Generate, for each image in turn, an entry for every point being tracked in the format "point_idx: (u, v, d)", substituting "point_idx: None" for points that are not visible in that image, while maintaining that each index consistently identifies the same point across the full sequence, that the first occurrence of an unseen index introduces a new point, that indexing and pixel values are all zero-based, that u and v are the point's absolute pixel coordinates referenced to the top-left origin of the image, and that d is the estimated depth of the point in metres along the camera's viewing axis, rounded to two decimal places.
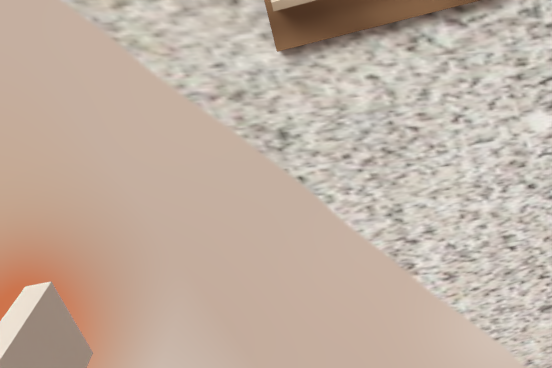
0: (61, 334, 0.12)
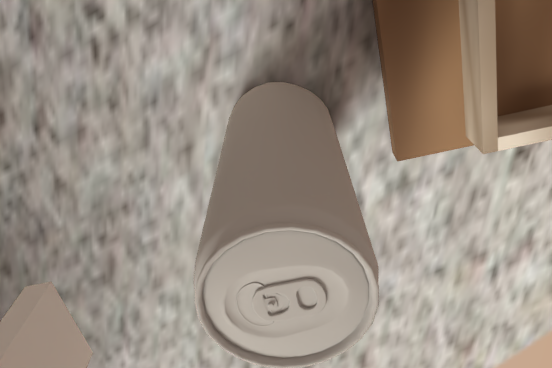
0: (61, 334, 0.12)
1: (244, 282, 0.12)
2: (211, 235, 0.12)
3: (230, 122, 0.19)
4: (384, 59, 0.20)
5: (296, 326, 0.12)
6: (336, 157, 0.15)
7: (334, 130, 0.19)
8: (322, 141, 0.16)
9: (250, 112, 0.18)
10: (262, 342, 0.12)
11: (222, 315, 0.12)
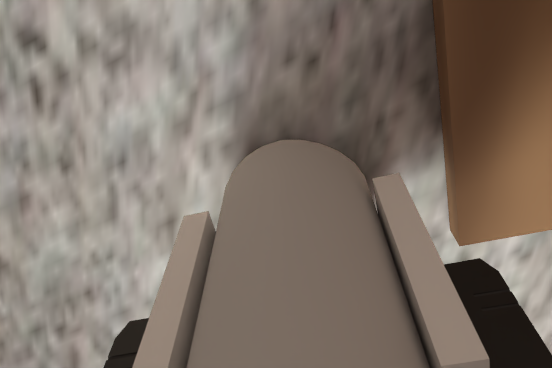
0: None
1: None
2: None
3: (226, 204, 0.13)
4: (450, 111, 0.14)
5: None
6: (397, 303, 0.09)
7: (379, 221, 0.13)
8: (372, 271, 0.09)
9: (255, 199, 0.12)
10: None
11: None
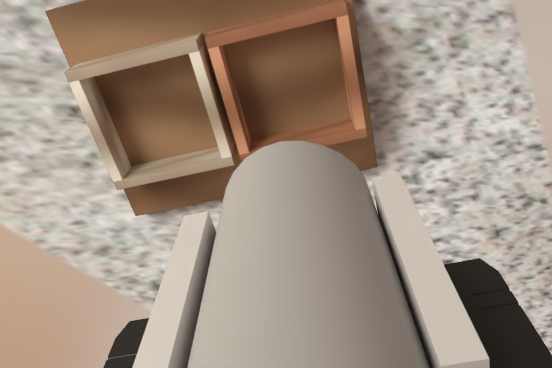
0: None
1: None
2: None
3: (226, 205, 0.13)
4: None
5: None
6: (398, 305, 0.09)
7: None
8: (373, 273, 0.09)
9: (255, 201, 0.12)
10: None
11: None
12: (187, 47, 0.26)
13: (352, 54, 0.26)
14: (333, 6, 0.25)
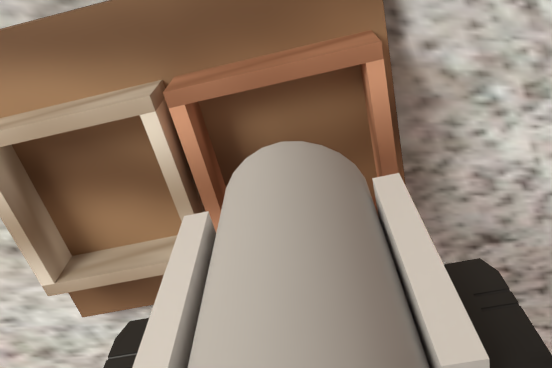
0: None
1: None
2: None
3: (226, 205, 0.13)
4: (45, 18, 0.18)
5: None
6: (398, 305, 0.09)
7: (380, 223, 0.13)
8: (373, 274, 0.09)
9: (255, 201, 0.12)
10: None
11: None
12: (137, 106, 0.17)
13: (388, 116, 0.17)
14: (361, 46, 0.16)
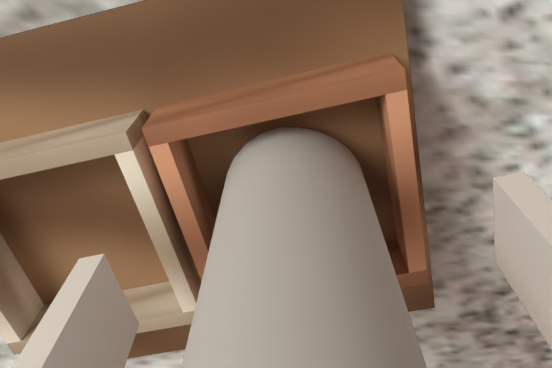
0: (113, 304, 0.13)
1: None
2: None
3: (227, 186, 0.14)
4: (3, 39, 0.15)
5: None
6: (384, 269, 0.10)
7: (371, 201, 0.13)
8: (362, 241, 0.10)
9: (254, 179, 0.13)
10: None
11: None
12: (111, 144, 0.14)
13: (411, 156, 0.14)
14: (380, 74, 0.13)
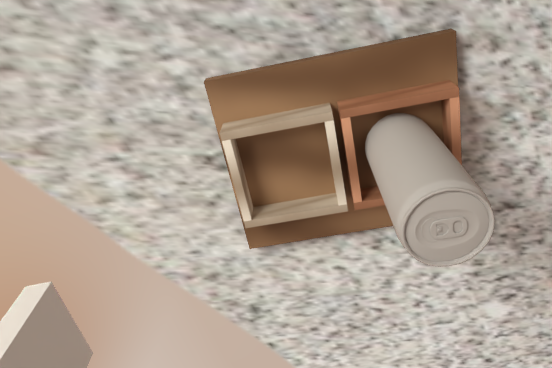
0: (61, 334, 0.12)
1: (428, 217, 0.23)
2: (411, 193, 0.24)
3: (376, 137, 0.31)
4: (272, 68, 0.32)
5: (449, 242, 0.24)
6: None
7: None
8: (448, 150, 0.27)
9: (395, 132, 0.30)
10: (429, 251, 0.24)
11: (413, 235, 0.24)
12: (324, 117, 0.31)
13: (458, 127, 0.32)
14: (448, 89, 0.31)
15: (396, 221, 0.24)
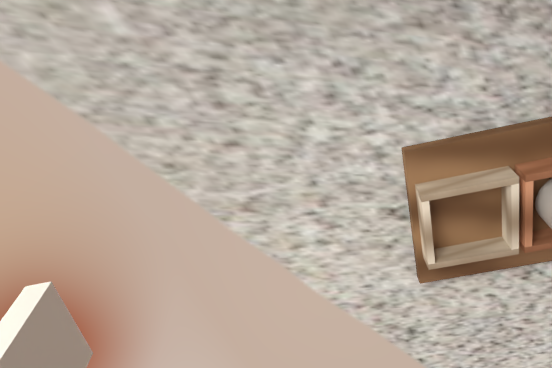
0: (61, 334, 0.12)
1: None
2: None
3: None
4: (463, 140, 0.38)
5: None
6: None
7: None
8: None
9: None
10: None
11: None
12: (511, 181, 0.38)
13: None
14: None
15: None
